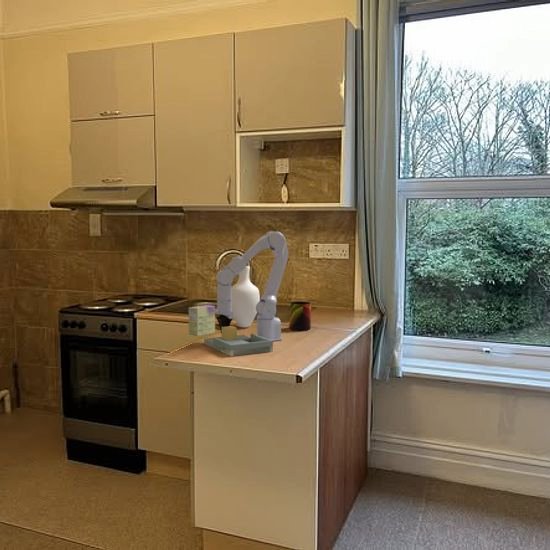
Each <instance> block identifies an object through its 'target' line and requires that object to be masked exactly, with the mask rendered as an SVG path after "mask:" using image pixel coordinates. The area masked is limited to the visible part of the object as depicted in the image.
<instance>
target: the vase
mask: <svg viewBox="0 0 550 550" xmlns="http://www.w3.org/2000/svg"><path fill="white" fill-rule="evenodd" d="M250 267H251V266H249V265H247V267H246V268H245V269H244V270H243V271H241V272H240V273H239V274H238V280H237V282H236V283H235V284H233V285H231V289H232V312H233V313H234V319H233V320H234V321H235V324H236V325H237V327H239V328H241V329H242V328H243V329H245V328H246V329H247V328H249V327H250V326H251V325H252V323H253V321H254V319H255V318H256V317H257V315H258V313H257V311H256V305H257V303H258V302H259V301H260V299H261V297H260V290H259V288H258V287H257V286H256V285H255V284H253V283H252V282H251V281H250V276H249V275H250V270H251V268H250Z"/></svg>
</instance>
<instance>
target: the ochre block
mask: <svg viewBox="0 0 550 550" xmlns="http://www.w3.org/2000/svg"><path fill="white" fill-rule="evenodd" d="M237 335H238V328H237V327H236V326H233V325H230V326H226V327H222V334H221V337H222V339H225V340H233V339H237Z"/></svg>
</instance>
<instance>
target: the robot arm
mask: <svg viewBox="0 0 550 550" xmlns="http://www.w3.org/2000/svg"><path fill="white" fill-rule="evenodd" d="M265 249H270V250H271V251H272V253H273V255H274V259H273V263H272V265H271V269H270V272H269V276H268V279H267V281H266V285H265V290H264V292H263V294H261V297H260V301H259V302H258V303H257V305H256V311H257V315H256V335H258V336H261V337H264V338H267V339H269V340H272V341H273V342H274V341H282V339H283V338H282V322H281V319H280V318H279V317H276V316H275V315H276V313H277V295H278V293H279V288H280V285H281V282H282V279H283V276H284V271H285V269H286V265H287V263H288V259H289V249H288V245H287V239H286V237H285V235H284V234H283V233H282V232H280V231H273V230H272V231H271V230H270V231H267V232H266V233H265V234H264V235H263V236H261V237H259V238H258V239H257V240H256V241H255V243H253V244H252V245H251V246H250V247H249V248H248V249H247V250H246V251H245V252H244V253H243V254H242V255H241V256H239V255H236V256H235V257H232V258H231V261H230V262H229V263H227V264H226V265H224V266H222V269H221V270H219V271H217V272H216V273H217V274H216V276H215V280H216V281H217V288H216V295H217V296H216V303H217V304H216V308H215V312H214V313H215V315H218V316H215V320H216V321H217V322H218V325H219V329H220V333H221V334H220V335H222V327H226V326H231V322H232V321H233V320H234V313H233V312H232V289H231V287H232V283H233V281H234V278H236V277H237V276H239V273H240V272H241V271H243V270H244V269H245V268H246V267H247V266H248V265H247V264H248V262H249V261H250V260H252V259H253V258H254V257H255V256H256V255H257V254H259V253H260V252H261V251H262V250H265Z"/></svg>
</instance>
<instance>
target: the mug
mask: <svg viewBox="0 0 550 550" xmlns="http://www.w3.org/2000/svg"><path fill="white" fill-rule="evenodd" d="M288 312H289V313H288V315H289V318H288V320H289V321H288V322H289V324H288V327H289V328H288V329H289V331H291V330H292V331H291V332H309V331H308V330H310V329H311V327H312V326H311V324H312V323H311V322H312V320H311V319H312V303H311V302H308V301H291V302H289V311H288ZM311 330H312V329H311ZM311 330H310V331H311Z"/></svg>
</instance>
